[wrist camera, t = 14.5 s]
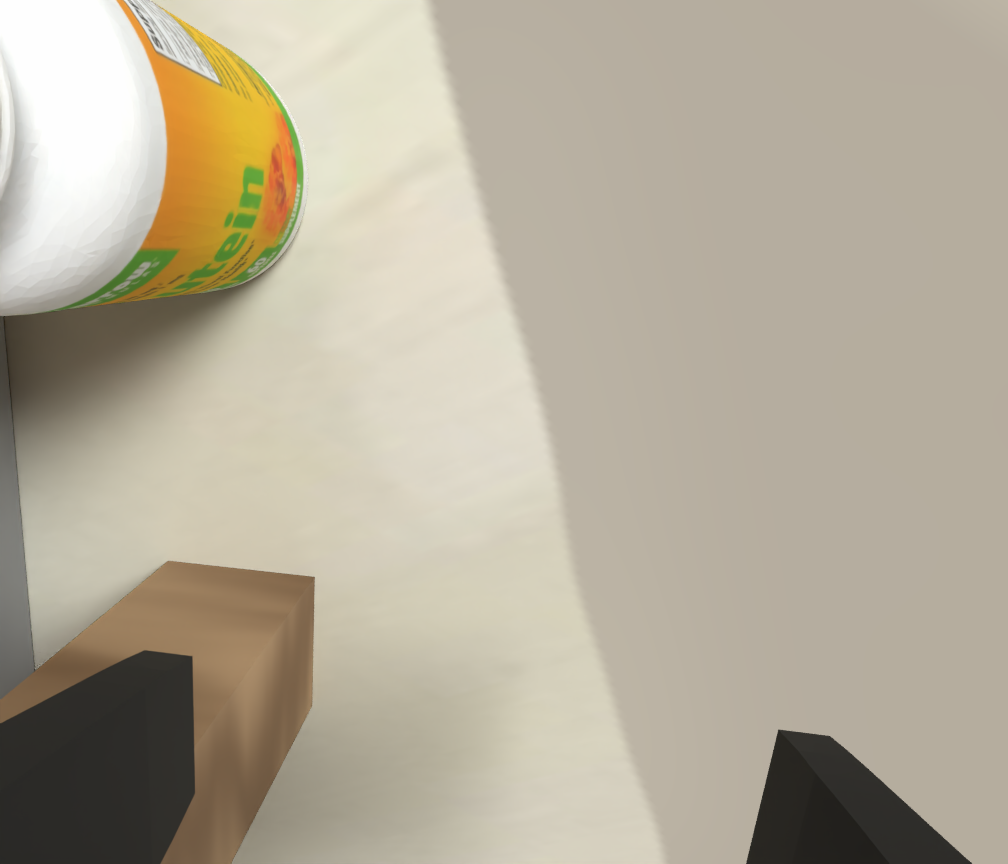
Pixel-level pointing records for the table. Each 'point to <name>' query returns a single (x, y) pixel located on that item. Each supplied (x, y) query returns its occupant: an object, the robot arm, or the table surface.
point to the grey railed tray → (11, 552)
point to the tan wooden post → (209, 683)
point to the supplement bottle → (135, 158)
